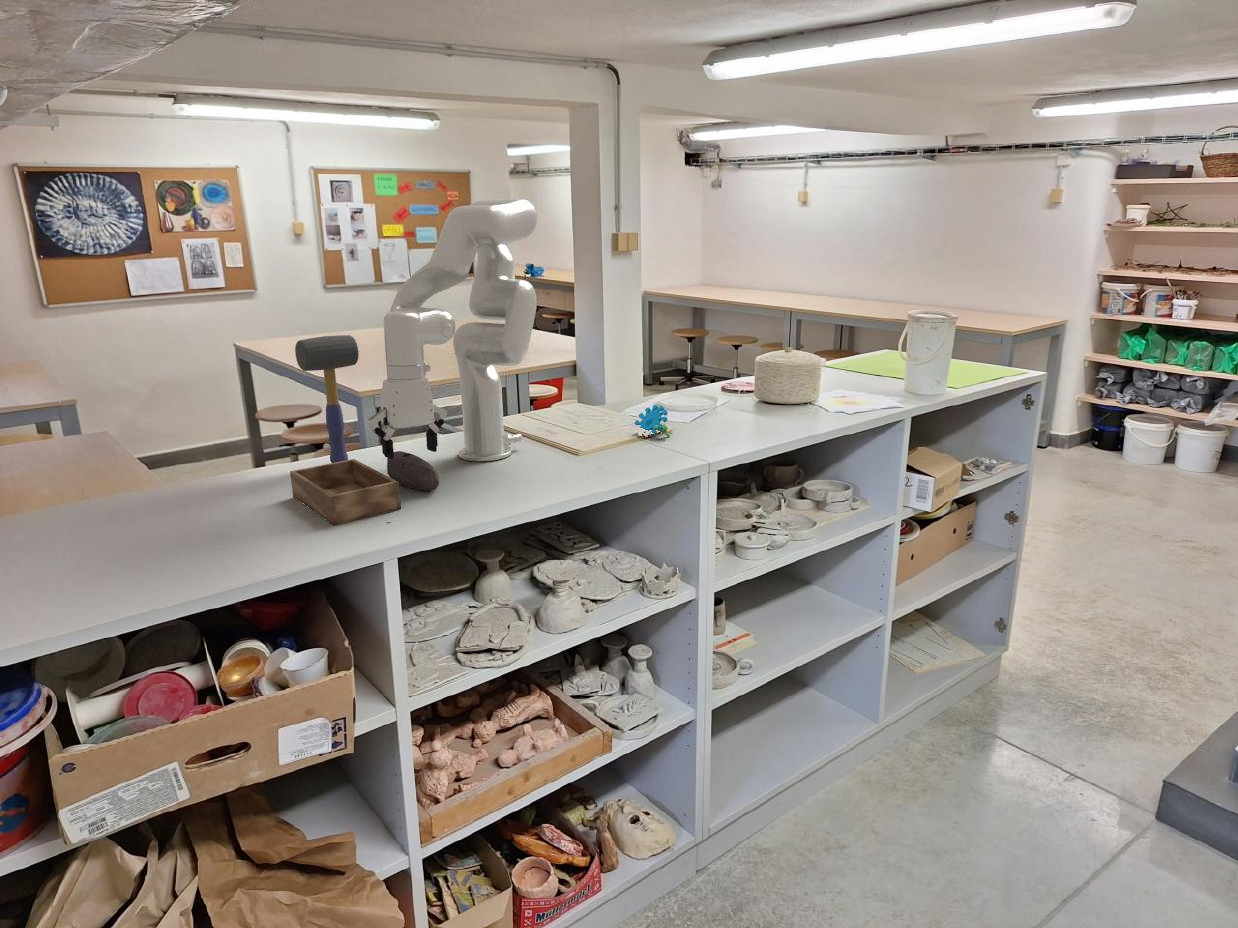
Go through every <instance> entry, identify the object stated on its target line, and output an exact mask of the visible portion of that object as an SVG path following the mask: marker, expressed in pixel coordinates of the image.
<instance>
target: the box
mask: <svg viewBox="0 0 1238 928" xmlns="http://www.w3.org/2000/svg"><path fill="white" fill-rule="evenodd" d="M289 475H290V480H291V481H290V482H291V489H292V490H291V491H292V497H293V498H294V499H295V498H296V499H297V500H296V499H295V500H296V501H298V502H299V501H300V502H299V503H301V502H302V503H304V504H305V505H306V506H308V507H309V508H310V510H311V509H312V510H313V512H314V511H315V512H316V513H315V512H314V513H315V514H317V515H318V514H319V515H320V516H319V515H318V516H319V517H321V518H323V519H324V520H325V519H326V520H325V521H326V522H328V523H329V522H330V523H329V524H331V525H332V524H333V526H335V525H336V524H337V525H341V524H345V523H349V522H353V521H356V520H357V519H358V520H362V519H365V518H369V517H373V516H378V515H382V514H387V513H392V512H394V511H398V510H401V509H402V505H401V494H400V484H399V482H398V481H396V480H394V479H392V478H390V476H389V475H386V474H384V473H383V472H380V471H379V470H376V469H374V468H372V467H370V466H368V465H367V464H365V463H362V462H361V461H359V460H356V459H355V458H353V459H352V458H351V459H348V460H346V461H341V462H336V463H326V464H322V465H316V466H312V467H306V468H300V469H295V470H291V471H289ZM302 503H301V504H302ZM304 504H303V505H304ZM305 505H304V506H305ZM306 506H305V507H306ZM308 507H307V508H308ZM309 508H308V509H309ZM312 510H311V511H312ZM361 518H362V519H361ZM340 523H341V524H340Z"/></svg>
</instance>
